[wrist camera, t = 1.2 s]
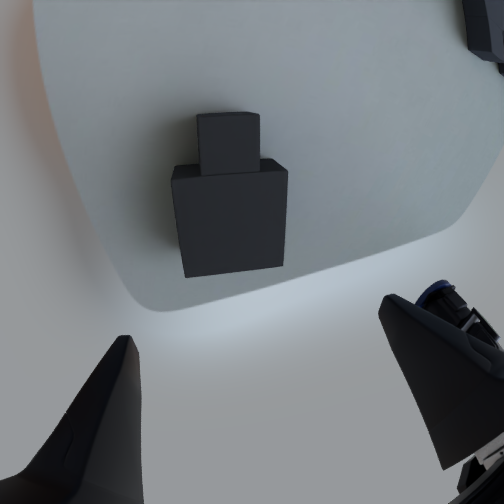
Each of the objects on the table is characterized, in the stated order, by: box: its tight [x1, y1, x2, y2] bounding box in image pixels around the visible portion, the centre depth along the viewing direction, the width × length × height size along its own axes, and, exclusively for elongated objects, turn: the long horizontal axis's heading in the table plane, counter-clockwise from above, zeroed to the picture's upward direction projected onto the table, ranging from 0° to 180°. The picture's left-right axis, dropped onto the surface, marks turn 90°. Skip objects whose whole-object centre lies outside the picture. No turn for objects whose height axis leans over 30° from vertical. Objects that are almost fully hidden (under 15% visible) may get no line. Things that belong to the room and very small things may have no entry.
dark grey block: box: [462, 0, 504, 76], centre depth 9 cm, size 12×10×3 cm
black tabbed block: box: [171, 112, 288, 278], centre depth 15 cm, size 6×9×3 cm, turn 0°
